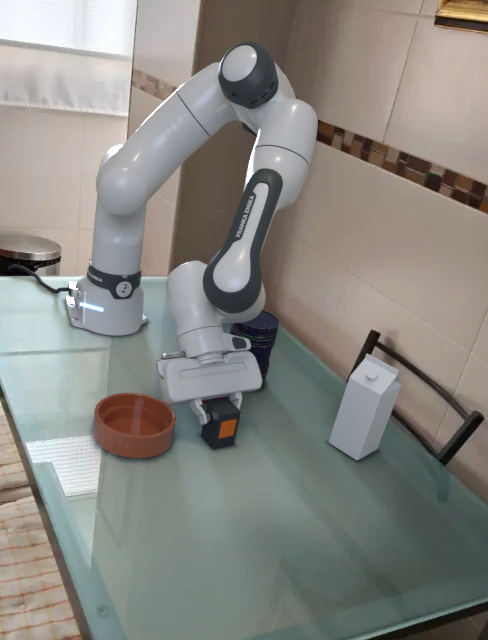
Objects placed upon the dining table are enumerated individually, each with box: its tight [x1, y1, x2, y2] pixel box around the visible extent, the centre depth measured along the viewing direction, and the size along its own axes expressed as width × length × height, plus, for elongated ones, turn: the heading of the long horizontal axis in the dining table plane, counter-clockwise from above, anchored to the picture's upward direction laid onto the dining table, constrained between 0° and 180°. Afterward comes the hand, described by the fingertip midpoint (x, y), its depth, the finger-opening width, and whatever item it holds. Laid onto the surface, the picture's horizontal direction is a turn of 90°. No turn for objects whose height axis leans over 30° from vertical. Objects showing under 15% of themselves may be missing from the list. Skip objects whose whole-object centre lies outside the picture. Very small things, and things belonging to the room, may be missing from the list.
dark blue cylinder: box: [228, 309, 280, 392], centre depth 140 cm, size 10×10×15 cm
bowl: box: [92, 392, 177, 459], centre depth 118 cm, size 14×14×5 cm
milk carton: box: [328, 353, 402, 461], centre depth 124 cm, size 7×7×19 cm
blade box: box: [200, 398, 242, 450], centre depth 120 cm, size 5×5×8 cm
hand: (221, 421), depth 120 cm, fingers open, 5 cm apart
